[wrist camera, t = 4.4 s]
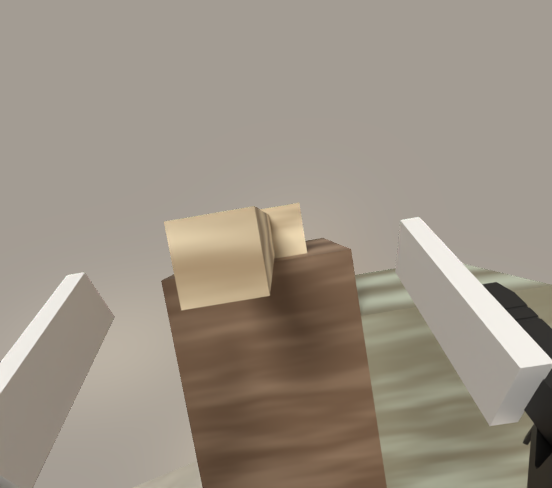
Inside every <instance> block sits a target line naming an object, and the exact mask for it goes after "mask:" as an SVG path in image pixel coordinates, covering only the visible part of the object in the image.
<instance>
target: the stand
mask: <svg viewBox="0 0 552 488" xmlns="http://www.w3.org/2000/svg"><path fill="white" fill-rule="evenodd" d="M305 242H306V248H307V253H305V254H299V255H293V256H287V257H281V258H275V259H274V265H273V273H272V282H271V290H270V296H266V297H260V298H254V299H248V300H241V301H235V302H229V303H223V304H217V305H211V306H205V307H199V308H193V309H187V310H181V306H180V301H179V296H178V291H177V286H176V281H175V275H172V276H170V277H168V278H166V279H164V280H162V281H161V282H162V287H163V291H164V296H165V302H166V306H167V312H168V317H169V321H170V326H171V332H172V337H173V342H174V347H175V352H176V357H177V361H178V366H179V372H180V377H181V382H182V387H183V392H184V396H185V401H186V407H187V412H188V417H189V421H190V426H191V431H192V436H193V442H194V446H195V451H196V457H197V462H198V467H199V472H200V477H201V482H202V487H203V488H527V480H528V468H529V456H530V443H531V441H530V443H529V444H528V445H526V444H524V443H523V441H524V438H525V436H526V435H527V433H528V432H529V430H530V429H531V427H532V426H533V424H534V423H533V421H532V420H531V419H530V417H529V416H528V415H527V413H526V412H525V411H524V413H523V415H522V416H521V418H520V419H519V421H518V422H515V423H508V424H501V425H494V426H489V424H488V422H487V421H486V419H485V417H484V416H483V414H482V413H481V411H480V409H479V408H478V406H477V404H476V403H475V401H474V400H473V398H472V396H471V395H470V393H469V391H468V390H467V388H466V386H465V385H464V383H463V382H462V380H461V378H460V377H459V375H458V373H457V372H456V370H455V369H454V367H453V365H452V364H451V362H450V360H449V359H448V357H447V355H446V354H445V352H444V351H443V349H442V347H441V346H440V344H439V342H438V341H437V339H436V338H435V336H434V334H433V333H432V331H431V329H430V328H429V326H428V324H427V323H426V321H425V320H424V318H423V316H422V315H421V313H420V311H419V310H418V308H417V307H416V305H415V303H414V302H413V300H412V298H411V297H410V295H409V293H408V292H407V290H406V289H405V287H404V285H403V284H402V282H401V280H400V279H399V277H398V276H397V274H396V272H395V270H396V268H395V269H390V270H383V271H377V272H371V273H365V274H359V275H355V273H354V267H353V260H352V253H351V249H349V248H347V247H344V246H341V245H339V244H337V243H334V242H332V241H329V240H326V239H324V238H320V239H315V240H308V241H305ZM463 265H464V266H465V267H466V268H467V269H468V270H469V271H470V272H471V273H472V274H473V275H474V276H475V277H476V279H477V280H478V281H479V282H480V283H481V284H487V283H493V282H497V283H499V284H501V285H503V286H504V287H506V288H508V289H510V290H512V291H513V292H515V293H516V294H517V295H518V296H519V297H520V298H521V299H522V300H523V301H524V302H525V303H526V304H527V306H528V308H531V309H532V310H533V311H534V312H535V313H536V314H537V315H538V317H539V318H540V319H542V320H543V321H545V322H546V323H547V324H548V325H549V326H550V327H551V328H552V285H550V284H546V283H542V282H538V281H534V280H529V279H525V278H521V277H517V276H512V275H508V274H504V273H500V272H495V271H491V270H487V269H483V268H478V267H474V266H470V265H466V264H463Z"/></svg>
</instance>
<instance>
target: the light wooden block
mask: <svg viewBox="0 0 552 488" xmlns="http://www.w3.org/2000/svg"><path fill="white" fill-rule="evenodd" d="M164 224H165V229H166V235H167V239H168V245H169V250H170V255H171V260H172V265H173V270H174V275H175V281H176V286H177V291H178V296H179V301H180V306H181V310H187V309H193V308H199V307H205V306H211V305H217V304H223V303H229V302H235V301H241V300H248V299H254V298H260V297H266V296H270V290H271V282H272V273H273V265H274V259H275V258H281V257H287V256H293V255H299V254H305V253H307V248H306V242H305V236H304V230H303V224H302V218H301V212H300V205H299V203H295V204H289V205H283V206H277V207H272V208H266V209H258V208H257V207H255V206H252V207H247V208H241V209H235V210H229V211H223V212H218V213H212V214H206V215H200V216H194V217H188V218H182V219H177V220H171V221H165V222H164Z"/></svg>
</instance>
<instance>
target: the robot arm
mask: <svg viewBox="0 0 552 488" xmlns="http://www.w3.org/2000/svg"><path fill="white" fill-rule="evenodd" d="M395 272H396V274H397V276H398V277H399V279H400V280H401V282H402V284H403V285H404V287H405V289H406V290H407V292H408V293H409V295H410V297H411V298H412V300H413V302H414V303H415V305H416V307H417V308H418V310H419V311H420V313H421V315H422V316H423V318H424V320H425V321H426V323H427V324H428V326H429V328H430V329H431V331H432V333H433V334H434V336H435V338H436V339H437V341H438V342H439V344H440V346H441V347H442V349H443V351H444V352H445V354H446V355H447V357H448V359H449V360H450V362H451V364H452V365H453V367H454V369H455V370H456V372H457V373H458V375H459V377H460V378H461V380H462V382H463V383H464V385H465V386H466V388H467V390H468V391H469V393H470V395H471V396H472V398H473V400H474V401H475V403H476V404H477V406H478V408H479V409H480V411H481V413H482V414H483V416H484V417H485V419H486V421H487V422H488V424H489V426H494V425H501V424H508V423H515V422H518V421H519V419H520V418H521V416H522V415H523V413H524V411H525V412H526V413H527V415H528V416H529V417H530V419H531V420H532V421H533V423H534V424H533V426H532V427H531V429H530V430H529V432H528V433H527V435H526V436H525V438H524V441H523V443H524V444H526V445H528V444H529V443H530V441H531V443H530V456H529V468H528V480H527V488H552V328H551V327H550V326H549V325H548V324H547V323H546V322H545V321H543V320H542V319H540V318H539V317H538V315H537V314H536V313H535V312H534V311H533V310H532V309H531V308H528V306H527V304H526V303H525V302H524V301H523V300H522V299H521V298H520V297H519V296H518V295H517V294H516V293H515V292H513V291H512V290H510V289H508V288H506V287H504V286H503V285H501V284H499V283H497V282H493V283H487V284H481V283H480V282H479V281H478V280H477V279H476V277H475V276H474V275H473V274H472V273H471V272H470V271H469V270H468V269H467V268H466V267H465V266H464V265H463V263H461V261H460V260H459V259H458V258H457V257H456V256H455V255H454V254H453V253H452V252H451V251H450V250H449V249H448V247H447V246H446V245H445V244H444V243H443V242H442V241H441V240H440V239H439V238H438V237H437V236H436V234H435V233H434V232H433V231H432V230H431V229H430V228H429V227H428V226H427V225H426V224H425V223H424V222H423V220H422V219H421V218H420V217H416V218H410V219H404V220H400V228H399V238H398V249H397V259H396V270H395ZM113 320H114V315H113V314H112V312H111V311H110V309H109V308H108V306H107V305H106V303H105V302H104V300H103V299H102V297H101V296H100V294H99V293H98V291H97V290H96V288H95V287H94V285H93V284H92V282H91V281H90V279H89V278H88V276H87V275H86V273H85V272H83V273H77V274H72V275H67V276H66V277H65V278H64V280H63V281H62V282H61V284H60V285H59V286H58V288H57V289H56V290H55V292H54V293H53V294H52V296H51V297H50V298H49V299H48V301H47V302H46V304H45V305H44V306H43V307H42V309H41V310H40V311H39V313H38V314H37V315H36V317H35V318H34V319H33V320H32V322H31V323H30V324H29V326H28V327H27V328H26V330H25V331H24V332H23V334H22V335H21V336H20V337H19V339H18V340H17V341H16V343H15V344H14V346H13V347H12V348H11V349H10V351H9V352H8V353H7V355H6V356H5V357H4V358H3V360H2V361H0V488H33V486H34V484H35V482H36V480H37V478H38V476H39V473H40V471H41V469H42V467H43V465H44V463H45V461H46V459H47V457H48V455H49V453H50V451H51V449H52V446H53V444H54V442H55V440H56V438H57V436H58V434H59V432H60V430H61V427H62V425H63V424H64V422H65V419H66V417H67V415H68V413H69V411H70V409H71V407H72V405H73V403H74V400H75V398H76V396H77V394H78V392H79V390H80V388H81V386H82V384H83V382H84V380H85V378H86V376H87V373H88V372H89V369H90V367H91V365H92V363H93V361H94V359H95V357H96V355H97V353H98V351H99V349H100V346H101V344H102V342H103V340H104V338H105V336H106V334H107V332H108V330H109V328H110V326H111V324H112V322H113Z"/></svg>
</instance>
